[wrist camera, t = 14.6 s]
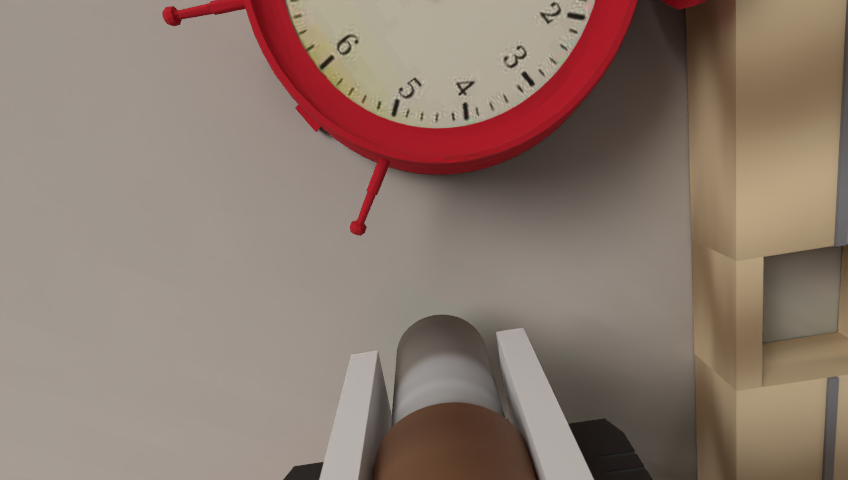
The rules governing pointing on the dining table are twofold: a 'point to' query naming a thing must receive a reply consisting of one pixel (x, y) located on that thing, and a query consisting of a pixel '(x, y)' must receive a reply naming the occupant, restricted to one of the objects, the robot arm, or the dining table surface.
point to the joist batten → (766, 231)
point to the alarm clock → (434, 72)
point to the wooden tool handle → (448, 411)
